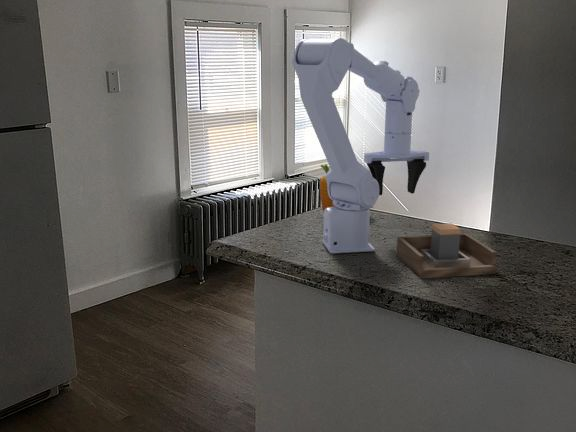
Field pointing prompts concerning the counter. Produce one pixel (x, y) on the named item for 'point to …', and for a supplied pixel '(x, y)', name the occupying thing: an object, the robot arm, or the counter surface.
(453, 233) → the two-tone rectangular block
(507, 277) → the counter surface
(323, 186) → the carrot
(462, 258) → the frame
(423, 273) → the walnut box
